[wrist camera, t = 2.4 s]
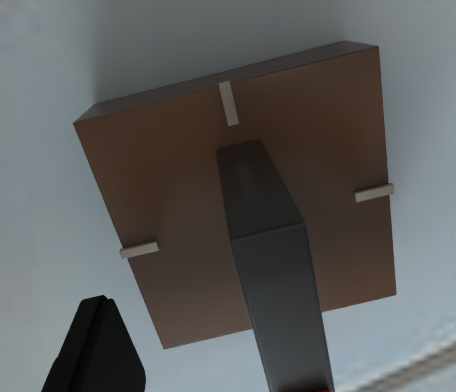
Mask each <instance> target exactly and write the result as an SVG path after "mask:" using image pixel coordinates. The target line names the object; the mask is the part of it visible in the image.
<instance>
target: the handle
mask: <svg viewBox="0 0 456 392" xmlns="http://www.w3.org/2000/svg"><path fill="white" fill-rule="evenodd" d="M216 158H217V165H218V171H219V177H220V184H221V190H222V197H223V203H224V209H225V216H226V222H227V229H228V235H229V242H230V245H231V249H232V253H233V257H234V260H235V264H236V268H237V271H238V275H239V279H240V283H241V286H242V290H243V294H244V297H245V301H246V305H247V309H248V312H249V316H250V320H251V323H252V327H253V331H254V335H255V338H256V342H257V346H258V349H259V353H260V357H261V361H262V364H263V368H264V372H265V375H266V379H267V383H268V387H269V390H270V392H335V389H334V383H333V377H332V371H331V366H330V360H329V354H328V348H327V342H326V337H325V331H324V325H323V319H322V313H321V308H320V302H319V296H318V290H317V284H316V279H315V273H314V267H313V261H312V255H311V250H310V244H309V238H308V232H307V226H306V223H305V221H304V219H303V217H302V215H301V213H300V211H299V209H298V208H297V206H296V204H295V202H294V200H293V198H292V196H291V195H290V193H289V191H288V189H287V187H286V185H285V183H284V181H283V180H282V178H281V176H280V174H279V172H278V170H277V168H276V167H275V165H274V163H273V161H272V159H271V157H270V155H269V153H268V152H267V150H266V148H265V146H264V144H263V142H262V141H261V140H257V141H253V142H249V143H245V144H241V145H237V146H233V147H229V148H225V149H221V150H217V151H216Z"/></svg>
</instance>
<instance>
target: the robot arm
mask: <svg viewBox="0 0 456 392" xmlns="http://www.w3.org/2000/svg"><path fill="white" fill-rule="evenodd" d="M145 385H146V375H145V370H144V367H143V365H142V363H141V361H140V358H139V356H138V354H137V351H136V349H135V347H134V345H133V342H132V340H131V338H130V335H129V333H128V331H127V329H126V326H125V324H124V322H123V320H122V317H121V315H120V313H119V310H118V308H117V306H116V304H115V302H114V300H113V299H107V297H106V296H104V295H101V296H96V297H92V298H88V299H84V300H82V301H81V303H80V305H79V307H78V310H77V312H76V314H75V317H74V319H73V322H72V324H71V326H70V329H69V331H68V333H67V336H66V338H65V341H64V343H63V345H62V348H61V350H60V353H59V355H58V357H57V358H56V359H55V361H54V363H53V365H52V367H51V369H50V372H49V374H48V377H47V379H46V381H45V384H44V386H43V388H42V391H41V392H144V391H145Z"/></svg>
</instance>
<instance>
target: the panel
mask: <svg viewBox="0 0 456 392" xmlns="http://www.w3.org/2000/svg"><path fill="white" fill-rule="evenodd" d="M73 125H74V127H75V130H76V132H77V135H78V137H79V140H80V142H81V145H82V147H83V150H84V152H85V155H86V157H87V160H88V162H89V165H90V167H91V170H92V172H93V175H94V177H95V180H96V182H97V184H98V187H99V189H100V192H101V194H102V197H103V199H104V202H105V204H106V207H107V209H108V212H109V214H110V217H111V219H112V222H113V224H114V227H115V229H116V232H117V234H118V237H119V239H120V242H121V244H122V247H123V248H122V249H120V254H121V256H122V259H125V258H127V259H128V262H129V264H130V267H131V269H132V272H133V274H134V277H135V279H136V282H137V284H138V287H139V289H140V292H141V294H142V297H143V299H144V302H145V304H146V307H147V309H148V312H149V314H150V316H151V319H152V321H153V324H154V326H155V329H156V331H157V334H158V336H159V339H160V341H161V344H162V346H163V349H164V350H165V349H169V348H173V347H178V346H182V345H186V344H190V343H195V342H199V341H203V340H207V339H212V338H216V337H220V336H224V335H229V334H233V333H237V332H241V331H245V330H250V329H253V327H252V323H251V320H250V316H249V312H248V309H247V305H246V301H245V297H244V294H243V290H242V286H241V283H240V279H239V275H238V271H237V268H236V264H235V260H234V257H233V253H232V249H231V245H230V242H229V235H228V229H227V222H226V216H225V209H224V203H223V197H222V190H221V184H220V177H219V171H218V165H217V158H216V151H217V150H221V149H225V148H229V147H233V146H237V145H241V144H245V143H249V142H253V141H257V140H261V141H262V142H263V144H264V146H265V148H266V150H267V152H268V153H269V155H270V157H271V159H272V161H273V163H274V165H275V167H276V168H277V170H278V172H279V174H280V176H281V178H282V180H283V181H284V183H285V185H286V187H287V189H288V191H289V193H290V195H291V196H292V198H293V200H294V202H295V204H296V206H297V208H298V209H299V211H300V213H301V215H302V217H303V219H304V221H305V223H306V226H307V232H308V238H309V244H310V250H311V255H312V261H313V267H314V273H315V279H316V284H317V290H318V296H319V302H320V308H321V313H322V312H326V311H330V310H335V309H339V308H343V307H347V306H351V305H356V304H360V303H364V302H368V301H373V300H377V299H381V298H385V297H390V296H394V295H396V282H395V268H394V254H393V240H392V225H391V211H390V197H389V194H393V193H394V185H393V184H392V183H390V184H389V183H388V169H387V155H386V141H385V127H384V113H383V99H382V85H381V71H380V57H379V47H378V46H375V45H369V44H363V43H357V42H351V41H342V42H338V43H334V44H330V45H326V46H322V47H318V48H314V49H310V50H306V51H302V52H298V53H295V54H291V55H287V56H283V57H279V58H275V59H271V60H267V61H263V62H259V63H255V64H251V65H247V66H243V67H239V68H235V69H231V70H227V71H223V72H219V73H215V74H211V75H207V76H203V77H200V78H196V79H192V80H188V81H184V82H180V83H176V84H172V85H168V86H164V87H160V88H156V89H152V90H148V91H144V92H140V93H136V94H132V95H128V96H124V97H120V98H116V99H112V100H108V101H105V102H101V103H97V104H94V105H93V106H92V107H90V108H89V109H88V110H87V111H86V112H85V113H84V114H83V115H82V116H80V117H79V118H78V119H77V120H76V121H75V122H74V123H73Z"/></svg>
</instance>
